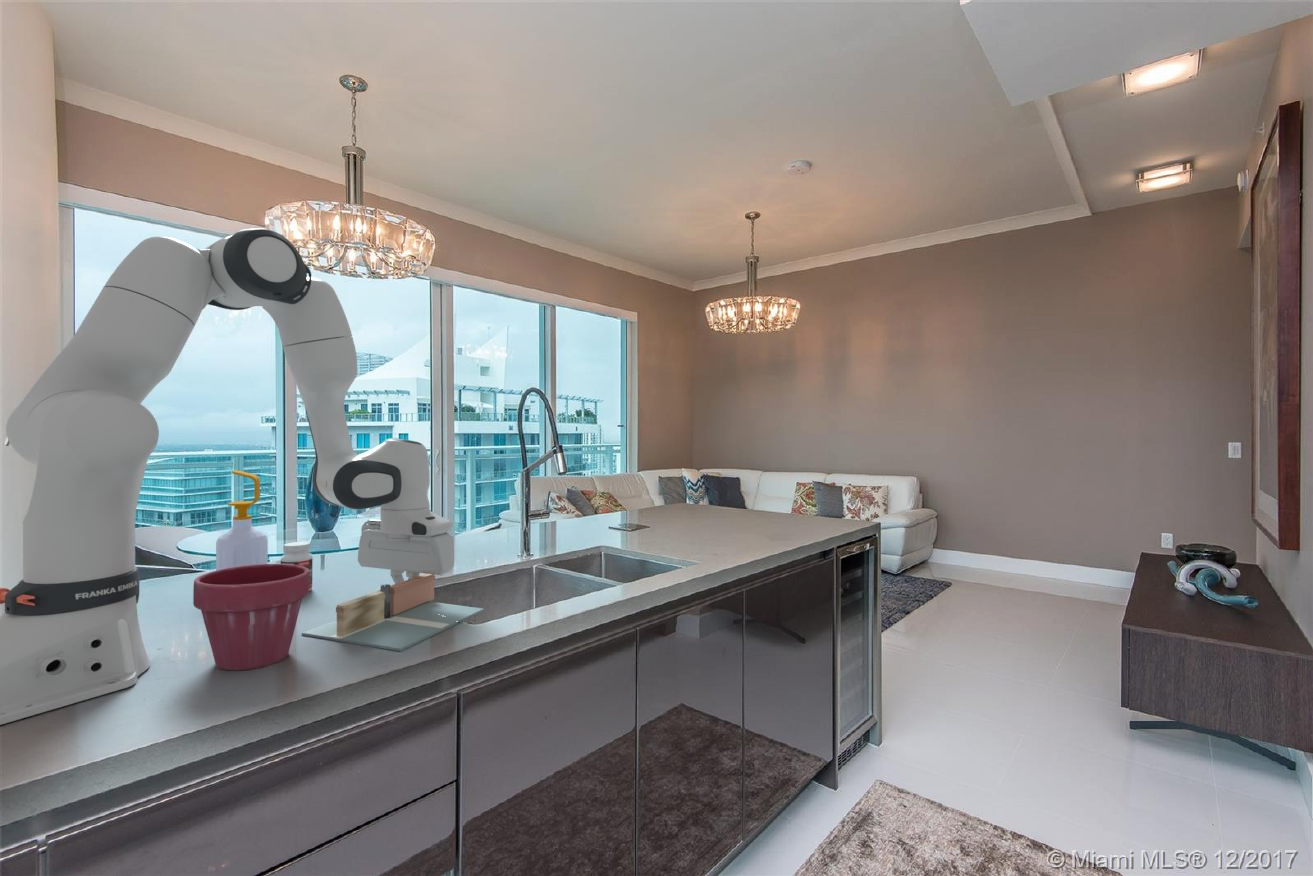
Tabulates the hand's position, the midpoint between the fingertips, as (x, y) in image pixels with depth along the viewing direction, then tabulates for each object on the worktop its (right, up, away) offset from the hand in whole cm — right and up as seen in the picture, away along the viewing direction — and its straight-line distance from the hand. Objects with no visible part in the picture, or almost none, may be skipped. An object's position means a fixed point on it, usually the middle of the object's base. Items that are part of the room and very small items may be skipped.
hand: (404, 592), depth 119 cm
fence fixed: (-1, -3, -15) cm, 15 cm away
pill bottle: (-25, -2, +7) cm, 27 cm away
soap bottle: (-39, -2, +11) cm, 41 cm away
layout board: (+3, -3, -11) cm, 11 cm away
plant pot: (-11, -3, -28) cm, 30 cm away
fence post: (0, -2, -10) cm, 10 cm away
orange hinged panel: (+3, -2, -3) cm, 5 cm away
